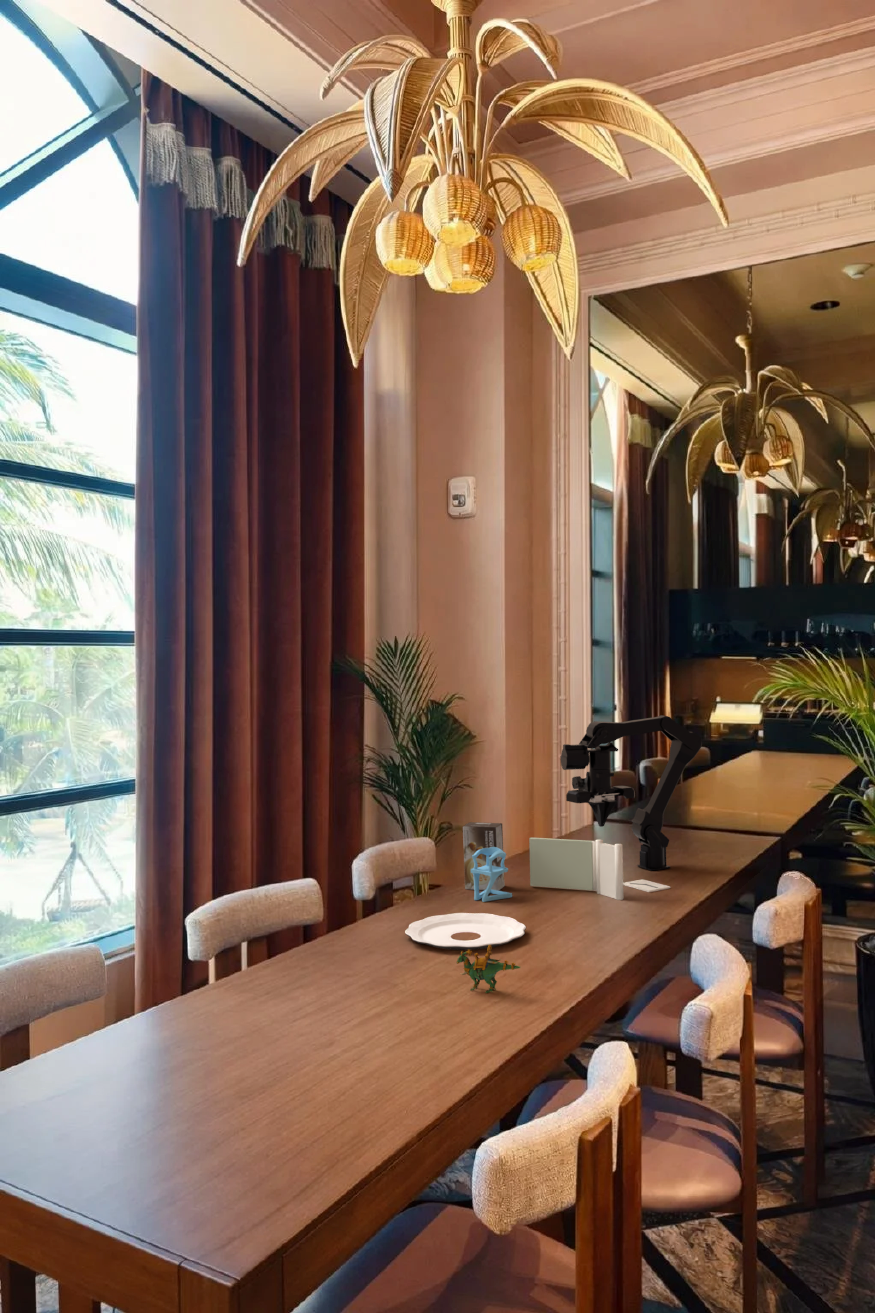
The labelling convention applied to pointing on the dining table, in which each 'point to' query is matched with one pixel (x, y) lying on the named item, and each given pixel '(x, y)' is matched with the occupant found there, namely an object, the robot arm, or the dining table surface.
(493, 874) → the chair
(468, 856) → the coffee box
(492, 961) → the figurine
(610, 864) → the fence fixed section
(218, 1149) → the dining table surface
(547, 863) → the panel
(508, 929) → the plate
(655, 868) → the robot arm
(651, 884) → the card
